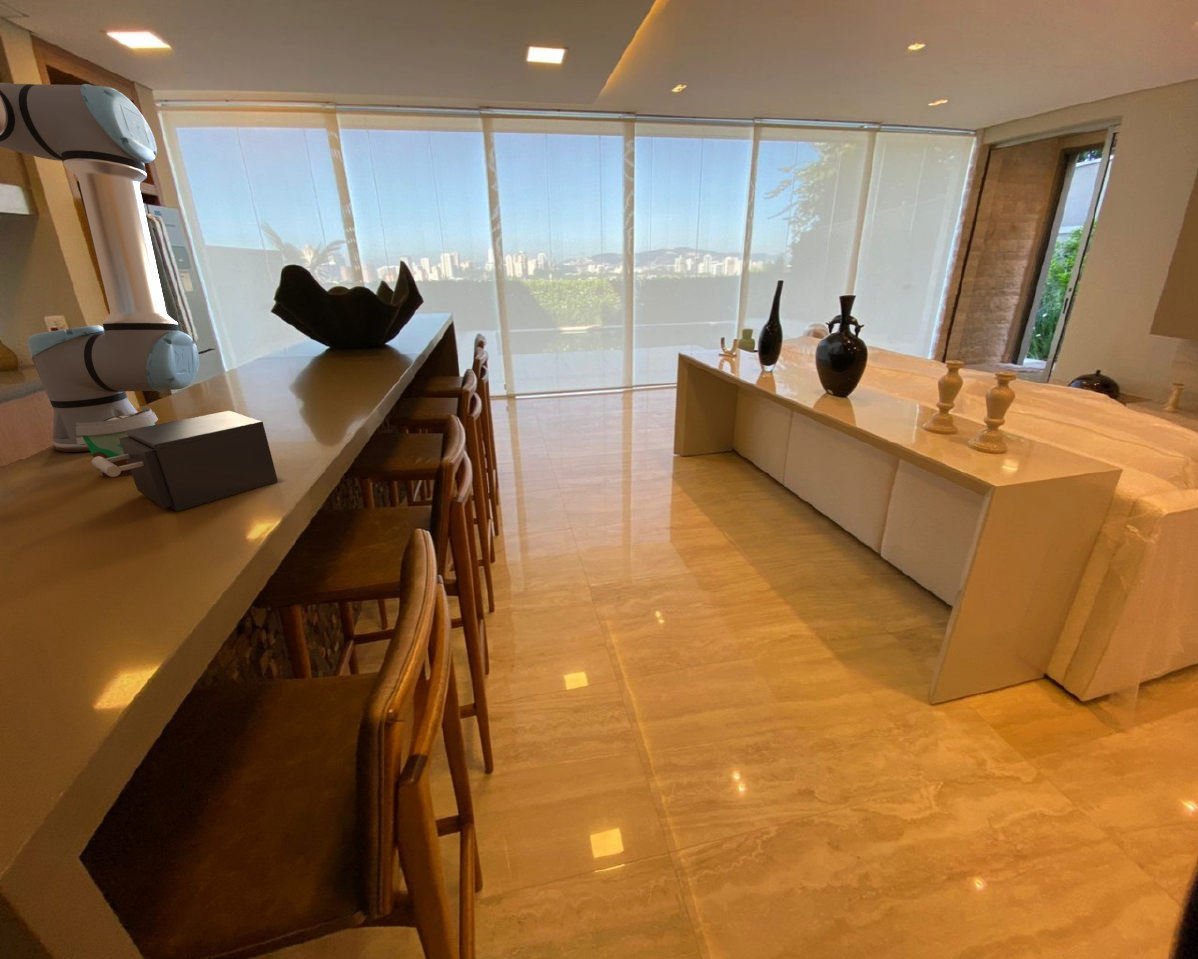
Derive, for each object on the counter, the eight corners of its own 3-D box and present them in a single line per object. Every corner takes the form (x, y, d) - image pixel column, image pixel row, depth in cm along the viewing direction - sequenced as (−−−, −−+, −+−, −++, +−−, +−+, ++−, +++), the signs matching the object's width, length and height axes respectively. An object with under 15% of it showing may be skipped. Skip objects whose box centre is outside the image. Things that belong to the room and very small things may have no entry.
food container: (122, 481, 91) (101, 425, 87) (94, 479, 92) (72, 423, 88) (187, 457, 102) (171, 407, 98) (161, 455, 103) (144, 405, 99)
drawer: (127, 518, 75) (105, 460, 72) (103, 500, 81) (81, 445, 78) (260, 480, 88) (247, 429, 85) (231, 466, 94) (217, 419, 91)
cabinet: (176, 511, 79) (154, 444, 75) (147, 493, 86) (125, 430, 82) (278, 481, 90) (262, 421, 86) (245, 466, 97) (229, 410, 93)
